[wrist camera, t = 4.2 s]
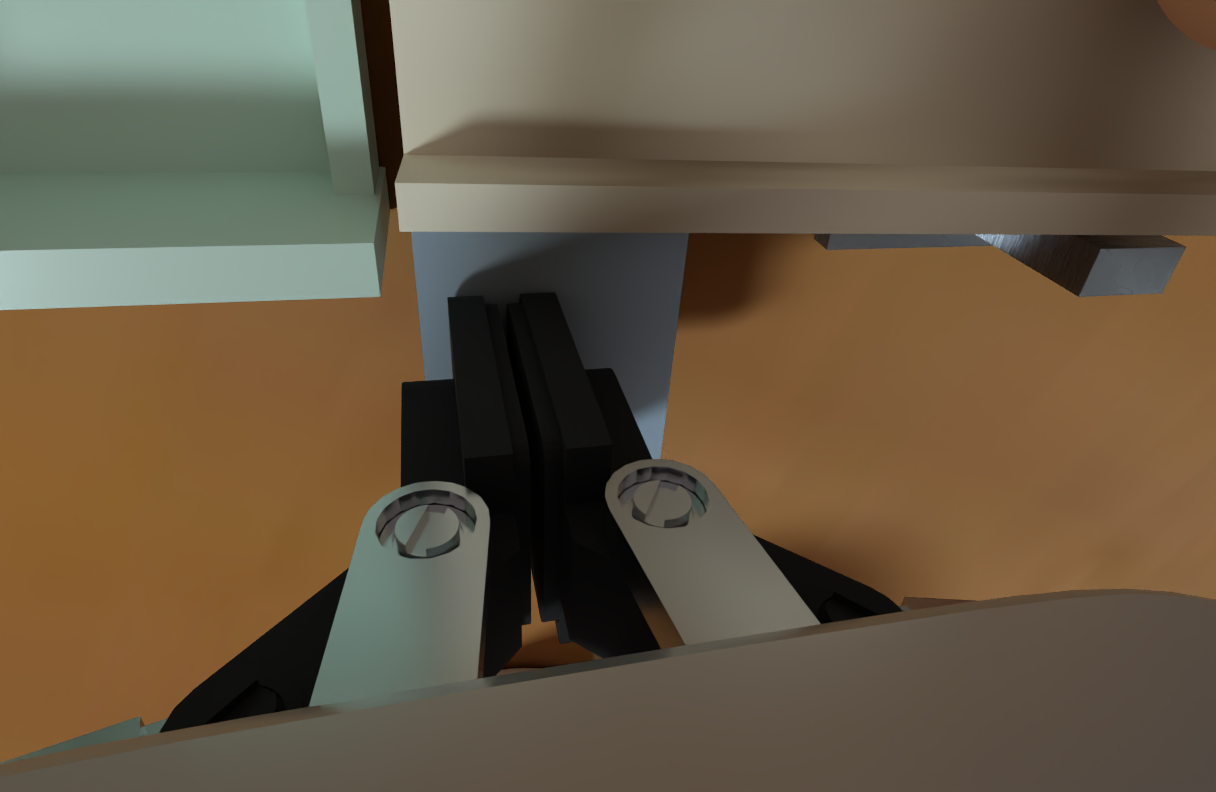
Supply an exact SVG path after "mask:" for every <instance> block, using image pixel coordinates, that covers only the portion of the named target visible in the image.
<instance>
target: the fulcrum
mask: <svg viewBox="0 0 1216 792" xmlns="http://www.w3.org/2000/svg"><path fill="white" fill-rule="evenodd" d="M814 239H815V240H816V241H817V242H818V243H820V244H821V245H822V246H823V247H824V248H825V249H826V250H838V249H877V248H917V247H956V246H995V247H997V248H999V249H1000V250H1002V251H1004V252H1005V253H1007V254H1009V255H1010V256H1012V257H1013V258H1015V259H1017V260H1018V261H1020V262H1022V263H1023V264H1025V265H1027V266H1028V267H1030V268H1032V269H1033V270H1035V271H1037V272H1038V273H1040V274H1042V275H1043V276H1045V277H1047V278H1048V279H1050V280H1052V281H1053V282H1055V283H1057V284H1058V285H1060V286H1062V287H1063V288H1065V289H1067V290H1068V291H1070V292H1072V293H1073V294H1075V295H1077V296H1078V297H1086V296H1109V295H1132V294H1155V293H1162V292H1163V290H1164V288H1165V286H1166V284H1167V282H1168V280H1169V278H1170V277H1171V275H1172V273H1173V271H1174V269H1175V267H1176V265H1177V263H1178V261H1179V260H1180V258H1181V256H1182V254H1183V252H1184V250H1185V248H1186V246H1183V245H1181V244H1179V243H1177V242H1175V241H1172V240H1170V239H1168V238H1166V237H1163V236H1161V235H1005V234H815V236H814Z"/></svg>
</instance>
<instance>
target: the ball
mask: <svg viewBox="0 0 1216 792" xmlns="http://www.w3.org/2000/svg"><path fill="white" fill-rule="evenodd" d="M1157 2H1158V4H1159V5H1160V7H1161V8H1162V10H1163V12H1164V13H1165V14H1166V16H1167V17H1168V19H1169V20H1170V21H1171V22H1172V23H1173V24H1174V25H1175V26H1176V27H1177V28H1178V29H1179V30H1180V31H1181V32H1183V33H1184V34H1185V35H1186V36H1188V37H1189V38H1191V39H1192V40H1194V41H1196V42H1197V43H1199V44H1201V45H1204V46H1206V47H1208V48H1211V49H1213V50H1215V51H1216V0H1157Z"/></svg>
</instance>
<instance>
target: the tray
mask: <svg viewBox="0 0 1216 792" xmlns="http://www.w3.org/2000/svg"><path fill="white" fill-rule="evenodd" d="M389 217H390V206H389V197H388V188H387V178H386V169H385V167H379V160H378V151H377V143H376V134H375V125H374V116H373V108H372V99H371V90H370V81H369V73H368V64H367V55H366V46H365V38H364V29H363V20H362V11H361V3H360V0H0V310H14V309H43V308H71V307H100V306H128V305H157V304H185V303H214V302H242V301H271V300H299V299H327V298H356V297H380V295H381V287H382V278H383V269H384V260H385V252H386V243H387V234H388V225H389Z"/></svg>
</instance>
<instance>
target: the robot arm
mask: <svg viewBox="0 0 1216 792" xmlns="http://www.w3.org/2000/svg"><path fill="white" fill-rule="evenodd" d="M447 302H448V317H449V331H450V345H451V359H452V373H453V379H443V380H428V381H414V382H403V383H402V409H401V488H397V489H396V490H394V491H392V492H390V493H389V494H387V495H385V496H383V497H381V498H380V499H379V500H378V501H377V502H376V503H375V504H374V505H373V506H372V507H371V508H370V509H369V511H368V512H367V514H366V516H365V518H364V520H363V522H362V525H361V528H360V532H359V535H358V539H357V542H356V546H355V549H354V552H353V556H352V559H351V563H350V566H349V568H348V569H347V570H345V571H344V572H343V573H342V574H340V575H339V576H338V577H337V578H335V579H334V580H333V581H331V582H330V583H329V584H328V585H326V586H325V587H324V588H323V589H321V590H320V591H319V592H317V593H316V594H315V595H314V596H312V597H311V598H310V599H308V600H307V601H306V602H305V603H303V604H302V605H301V606H300V607H298V608H297V609H296V610H294V611H293V612H292V613H291V614H289V615H288V616H287V617H286V618H284V619H283V620H282V621H280V622H279V623H278V624H277V625H275V626H274V627H273V628H272V629H270V630H269V631H268V632H266V633H265V634H264V635H263V636H261V637H260V638H259V639H257V640H256V641H255V642H254V643H252V644H251V645H250V646H249V647H247V648H246V649H245V650H243V651H242V652H241V653H240V654H238V655H237V656H236V657H235V658H233V659H232V660H231V661H229V662H228V663H227V664H226V665H224V666H223V667H222V668H220V669H219V670H218V671H217V672H215V673H214V674H213V675H212V676H210V677H209V678H208V679H206V680H205V681H204V682H203V683H201V684H200V685H199V686H198V687H196V688H195V689H194V690H193V691H192V692H191V693H190V694H189V695H188V696H187V697H185V698H184V699H183V700H182V701H181V702H180V703H179V704H178V705H177V706H176V707H175V708H174V710H173V711H172V713H171V714H170V716H169V717H168V718H167V719H164V720H161V721H158V722H155V723H152V724H149V725H147V726H145V725H144V723H143V721H142V719H141V717H140V716H139V717H136V718H133V719H130V720H127V721H124V722H121V723H118V724H115V725H112V726H109V727H106V728H103V729H100V730H98V731H95V732H92V733H89V734H86V735H83V736H80V737H77V738H74V739H71V740H68V741H65V742H62V743H59V744H56V745H53V746H50V747H47V748H44V749H41V750H38V751H35V752H32V753H29V754H26V755H23V756H20V757H17V758H14V759H11V760H8V761H5V762H2V763H0V792H1216V600H1214V599H1209V598H1203V597H1197V596H1192V595H1186V594H1180V593H1175V592H1166V591H1152V590H1137V589H1095V590H1069V591H1060V592H1052V593H1043V594H1032V595H1020V596H1011V597H1004V598H997V599H989V600H982V601H973V600H954V599H935V598H917V597H904V600H903V602H902V604H901V606H897V605H896V604H895V603H894V602H893V601H891V600H890V599H889V598H888V597H886V596H885V595H883V594H881V593H879V592H878V591H876V590H874V589H872V588H871V587H869V586H866V585H864V584H862V583H860V582H857V581H855V580H853V579H851V578H849V577H846V576H844V575H842V574H840V573H837V572H835V571H833V570H831V569H828V568H826V567H824V566H822V565H819V564H817V563H815V562H813V561H811V560H808V559H806V558H804V557H802V556H799V555H797V554H795V553H793V552H790V551H788V550H786V549H784V548H782V547H779V546H777V545H775V544H773V543H770V542H768V541H766V540H764V539H761V538H759V537H757V536H755V535H753V534H752V533H751V532H750V530H749V529H748V528H747V526H746V525H745V524H744V522H743V521H742V520H741V518H740V517H739V516H738V514H737V513H736V512H735V510H734V509H733V508H732V507H731V505H730V504H729V503H728V501H727V500H726V499H725V497H724V496H723V495H722V493H721V492H720V491H719V489H718V488H717V487H716V485H715V484H714V483H713V482H712V481H711V480H710V479H709V478H708V477H707V476H706V475H705V474H703V473H702V472H700V471H698V470H696V469H695V468H693V467H691V466H689V465H686V464H683V463H679V462H676V461H672V460H663V459H652V457H651V454H650V452H649V450H648V448H647V445H646V443H645V441H644V438H643V436H642V434H641V432H640V429H639V427H638V425H637V423H636V420H635V418H634V416H633V413H632V411H631V409H630V407H629V404H628V402H627V400H626V397H625V395H624V393H623V391H622V388H621V386H620V384H619V382H618V379H617V377H616V375H615V373H614V371H613V370H612V369H611V368H599V369H584V367H583V364H582V361H581V359H580V356H579V353H578V351H577V348H576V345H575V343H574V340H573V338H572V335H571V332H570V330H569V327H568V324H567V322H566V319H565V316H564V314H563V311H562V308H561V306H560V303H559V301H558V298H557V295H556V293H555V292H549V293H528V294H520V296H519V303H510V304H507V345H506V340H505V336H504V331H503V327H502V322H501V318H500V314H499V309H498V305H497V304H488V305H485V304H484V299H483V296H461V297H447ZM531 570H532V575H533V581H534V586H535V591H536V597H537V602H538V608H539V613H540V618H541V621H542V622H547V621H554V620H555V623H556V628H557V633H558V638H559V642H560V644H562V643H569V642H575V643H577V644H579V645H580V646H582V647H584V648H586V649H587V650H589V651H591V652H592V653H593V658H592V660H591V661H585V662H579V663H573V664H566V665H560V666H554V667H548V668H542V669H535V670H529V671H523V672H517V673H511V674H504V675H498V676H497V674H498V673H499V671H500V670H501V669H502V668H503V667H504V666H505V665H506V664H507V662H508V661H509V660H510V659H511V658H512V657H513V656H514V654H515V653H516V652H517V651H518V650H519V649H520V648H521V647H522V625H526V624H530V623H531Z"/></svg>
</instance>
